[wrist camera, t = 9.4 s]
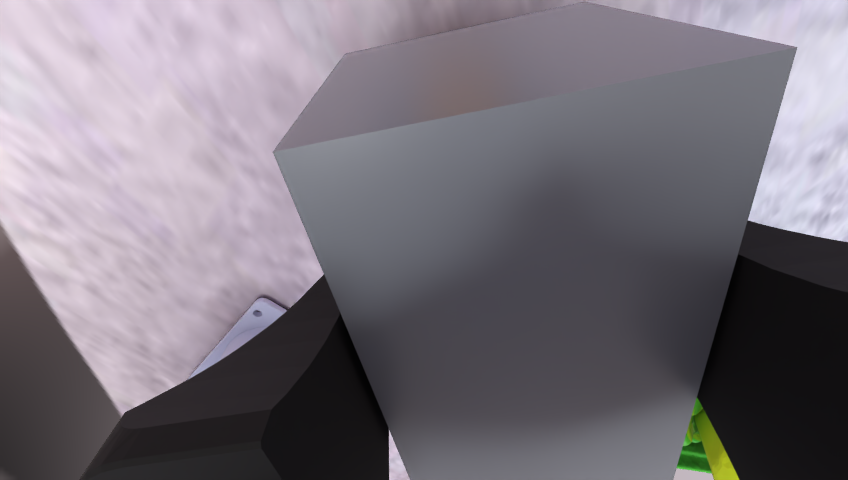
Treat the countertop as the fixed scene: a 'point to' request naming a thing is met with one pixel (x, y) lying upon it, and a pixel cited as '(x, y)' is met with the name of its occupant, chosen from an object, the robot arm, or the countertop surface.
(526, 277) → the grey rectangular block
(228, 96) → the countertop surface
